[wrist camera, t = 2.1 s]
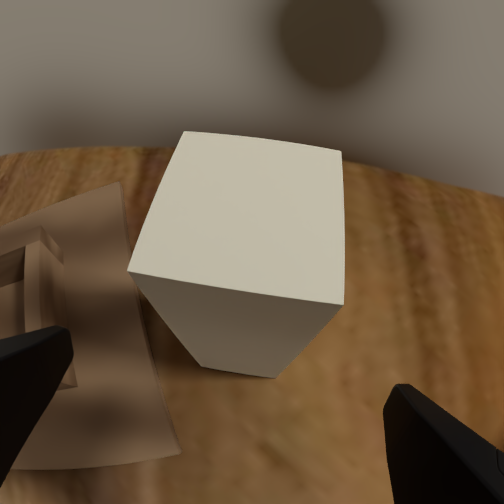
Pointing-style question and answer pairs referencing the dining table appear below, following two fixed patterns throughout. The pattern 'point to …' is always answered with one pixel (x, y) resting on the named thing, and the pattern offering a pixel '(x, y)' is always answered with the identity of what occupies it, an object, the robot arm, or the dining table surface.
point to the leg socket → (85, 334)
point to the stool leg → (245, 249)
